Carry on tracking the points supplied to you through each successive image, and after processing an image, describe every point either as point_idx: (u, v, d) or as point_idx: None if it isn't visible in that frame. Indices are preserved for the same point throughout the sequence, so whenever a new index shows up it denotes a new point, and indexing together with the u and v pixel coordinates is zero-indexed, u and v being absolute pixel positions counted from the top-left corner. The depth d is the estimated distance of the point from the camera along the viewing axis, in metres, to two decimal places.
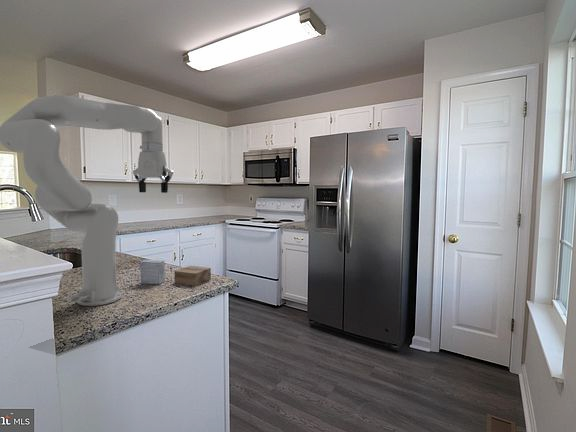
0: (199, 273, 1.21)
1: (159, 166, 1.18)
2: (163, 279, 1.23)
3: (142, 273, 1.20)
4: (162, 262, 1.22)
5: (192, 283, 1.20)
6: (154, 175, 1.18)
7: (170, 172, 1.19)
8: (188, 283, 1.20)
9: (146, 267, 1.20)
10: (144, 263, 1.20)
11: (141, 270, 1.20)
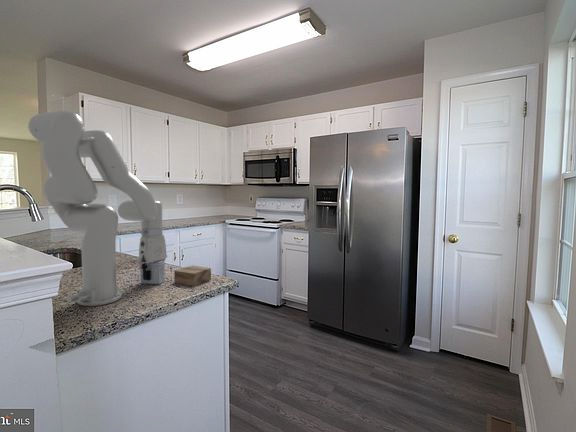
0: (198, 273, 1.21)
1: None
2: (163, 279, 1.23)
3: (142, 273, 1.20)
4: (162, 262, 1.22)
5: (191, 283, 1.20)
6: (162, 258, 1.23)
7: (166, 256, 1.28)
8: (187, 283, 1.20)
9: None
10: None
11: (141, 270, 1.20)
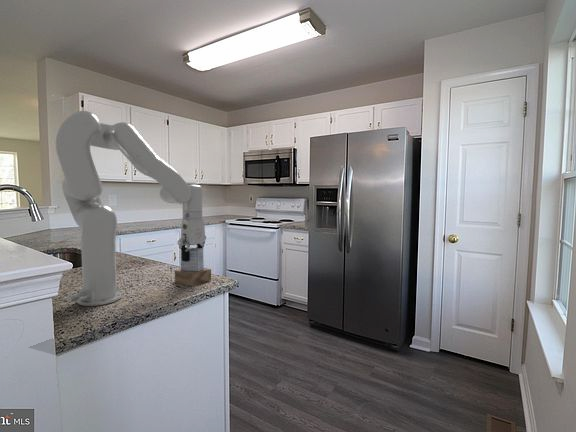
0: (196, 274, 1.21)
1: (204, 233, 1.28)
2: (202, 267, 1.25)
3: None
4: (201, 250, 1.24)
5: (188, 283, 1.20)
6: (202, 241, 1.26)
7: (205, 237, 1.31)
8: (185, 283, 1.21)
9: None
10: None
11: (181, 257, 1.23)
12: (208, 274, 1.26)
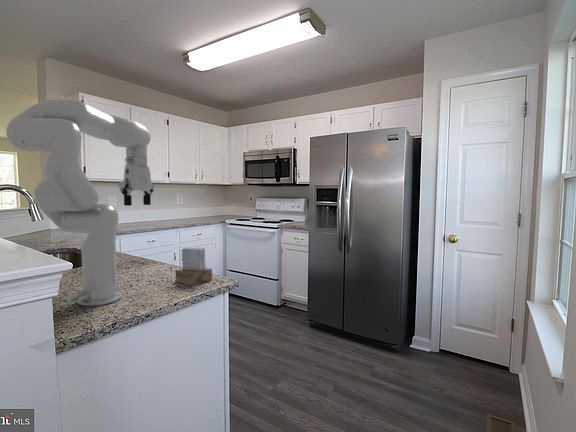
0: (197, 273, 1.21)
1: None
2: (204, 266, 1.26)
3: (184, 260, 1.24)
4: (203, 249, 1.25)
5: (189, 283, 1.20)
6: (147, 189, 1.26)
7: (153, 186, 1.32)
8: (186, 283, 1.21)
9: (187, 254, 1.23)
10: (186, 250, 1.23)
11: (183, 257, 1.24)
12: (209, 274, 1.26)
